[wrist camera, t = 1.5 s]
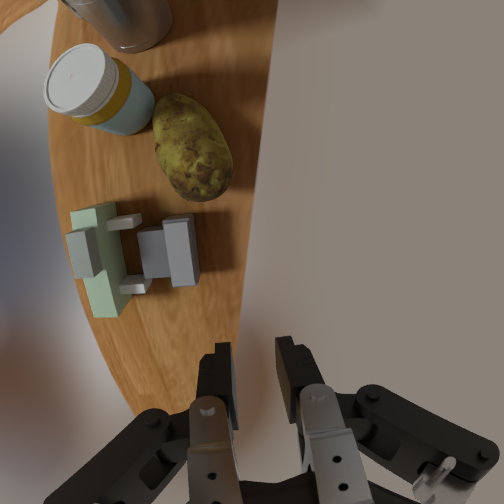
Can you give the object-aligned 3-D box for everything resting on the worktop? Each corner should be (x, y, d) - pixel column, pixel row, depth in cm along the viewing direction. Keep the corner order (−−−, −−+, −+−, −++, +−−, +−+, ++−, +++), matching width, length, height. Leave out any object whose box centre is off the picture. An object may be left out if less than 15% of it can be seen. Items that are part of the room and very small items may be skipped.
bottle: (111, 86, 28) (51, 47, 13) (161, 84, 28) (120, 33, 14) (102, 136, 29) (32, 121, 15) (152, 136, 30) (100, 114, 16)
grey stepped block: (143, 218, 33) (132, 225, 28) (193, 213, 33) (188, 218, 29) (152, 277, 35) (144, 291, 31) (200, 274, 35) (197, 287, 31)
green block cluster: (92, 205, 32) (59, 216, 24) (139, 198, 32) (113, 206, 24) (110, 297, 35) (86, 326, 27) (155, 295, 36) (138, 326, 28)
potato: (224, 91, 29) (223, 69, 22) (235, 193, 33) (237, 199, 25) (157, 102, 29) (138, 84, 21) (168, 202, 33) (151, 212, 25)
